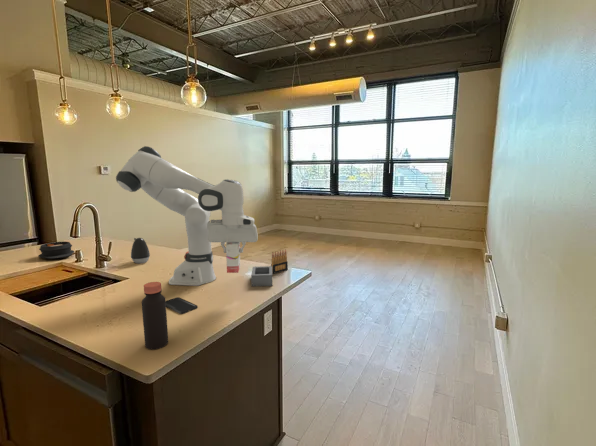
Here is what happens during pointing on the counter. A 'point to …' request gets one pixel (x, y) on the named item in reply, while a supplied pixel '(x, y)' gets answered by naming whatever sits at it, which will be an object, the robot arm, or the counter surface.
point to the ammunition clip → (279, 262)
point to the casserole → (56, 250)
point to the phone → (180, 305)
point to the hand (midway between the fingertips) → (233, 252)
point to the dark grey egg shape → (140, 251)
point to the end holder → (261, 276)
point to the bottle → (154, 316)
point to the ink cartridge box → (232, 256)
